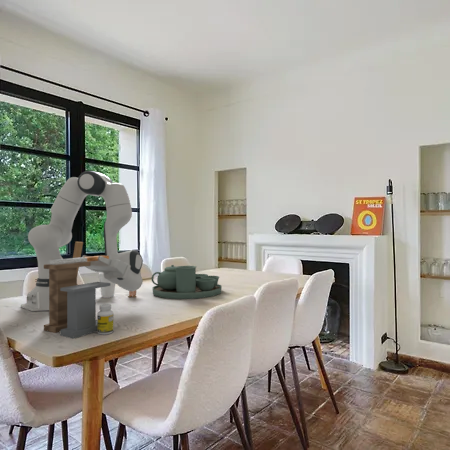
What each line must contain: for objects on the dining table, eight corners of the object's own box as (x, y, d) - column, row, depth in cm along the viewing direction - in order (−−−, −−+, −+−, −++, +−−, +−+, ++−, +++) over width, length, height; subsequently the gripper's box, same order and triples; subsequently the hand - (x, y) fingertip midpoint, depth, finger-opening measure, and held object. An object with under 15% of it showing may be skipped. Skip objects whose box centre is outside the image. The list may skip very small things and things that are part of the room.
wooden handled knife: (49, 264, 131) (49, 260, 131) (103, 259, 152) (103, 255, 152) (54, 264, 129) (54, 260, 129) (108, 259, 151) (108, 255, 151)
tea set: (235, 294, 201) (235, 264, 201) (171, 303, 179) (170, 270, 179) (199, 285, 234) (199, 259, 234) (141, 291, 211) (141, 263, 211)
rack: (60, 335, 124) (60, 287, 124) (97, 324, 138) (97, 281, 138) (73, 338, 121) (73, 289, 121) (110, 326, 135) (110, 283, 135)
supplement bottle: (94, 334, 126) (93, 306, 126) (104, 329, 131) (104, 303, 131) (106, 335, 124) (106, 307, 124) (116, 331, 129) (116, 304, 129)
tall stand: (43, 330, 131) (43, 264, 131) (78, 321, 144) (78, 261, 144) (55, 333, 127) (55, 265, 127) (90, 323, 140) (90, 261, 140)
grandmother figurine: (125, 297, 191) (125, 274, 191) (126, 296, 195) (126, 273, 195) (140, 297, 193) (140, 273, 193) (140, 295, 197) (140, 272, 197)
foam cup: (117, 297, 192) (117, 273, 192) (98, 298, 189) (98, 274, 189) (116, 294, 201) (116, 271, 201) (98, 295, 198) (98, 272, 198)
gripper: (100, 263, 162) (77, 249, 151) (133, 265, 152) (111, 250, 141) (94, 276, 159) (71, 263, 149) (128, 279, 149) (105, 265, 138)
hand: (91, 257), depth 145 cm, fingers open, 8 cm apart
